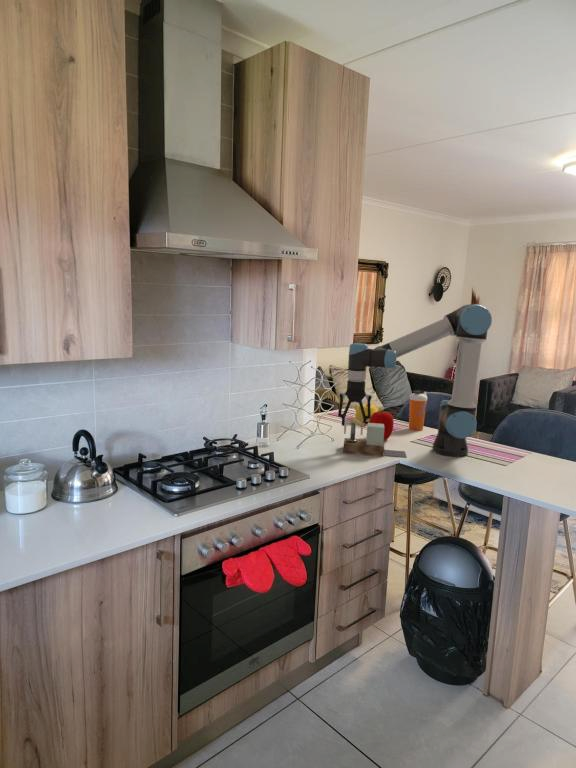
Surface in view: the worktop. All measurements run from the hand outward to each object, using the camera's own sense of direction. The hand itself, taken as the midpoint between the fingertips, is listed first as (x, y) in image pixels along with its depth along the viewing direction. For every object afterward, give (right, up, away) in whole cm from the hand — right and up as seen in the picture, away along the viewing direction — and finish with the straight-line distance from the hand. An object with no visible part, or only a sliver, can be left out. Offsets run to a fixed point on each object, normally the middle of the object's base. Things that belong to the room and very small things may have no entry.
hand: (353, 433), depth 225 cm
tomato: (+16, -5, +26) cm, 31 cm away
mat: (+18, -9, +2) cm, 20 cm away
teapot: (+15, 0, +62) cm, 64 cm away
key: (+1, -4, 0) cm, 4 cm away
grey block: (+10, -4, +2) cm, 11 cm away
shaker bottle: (+39, -3, +50) cm, 63 cm away
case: (+5, -8, +3) cm, 10 cm away
